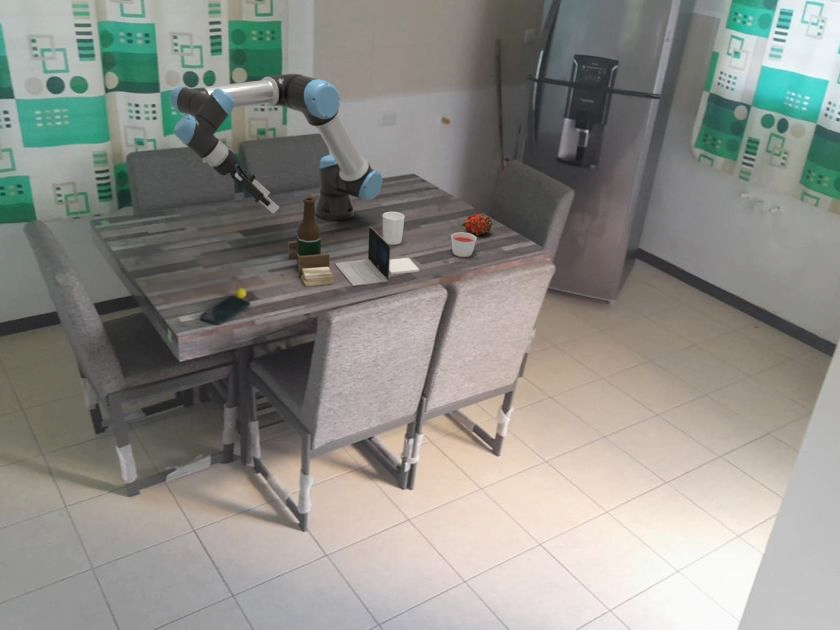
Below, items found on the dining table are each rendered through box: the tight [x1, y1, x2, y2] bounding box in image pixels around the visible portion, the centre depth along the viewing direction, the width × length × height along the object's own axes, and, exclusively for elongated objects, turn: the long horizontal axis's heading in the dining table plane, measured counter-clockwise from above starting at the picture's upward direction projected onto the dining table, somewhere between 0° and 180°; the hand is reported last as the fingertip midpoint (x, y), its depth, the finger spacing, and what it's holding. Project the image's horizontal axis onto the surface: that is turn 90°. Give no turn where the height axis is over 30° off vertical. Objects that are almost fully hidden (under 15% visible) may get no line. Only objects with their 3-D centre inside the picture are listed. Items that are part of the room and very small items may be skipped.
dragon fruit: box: [461, 213, 493, 237], centre depth 299 cm, size 8×8×12 cm
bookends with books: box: [287, 240, 335, 287], centre depth 260 cm, size 23×10×7 cm, turn 22°
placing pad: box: [389, 257, 420, 275], centre depth 268 cm, size 10×10×1 cm
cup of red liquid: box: [450, 231, 477, 258], centre depth 281 cm, size 9×9×6 cm
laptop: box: [334, 225, 391, 287], centre depth 260 cm, size 18×12×13 cm
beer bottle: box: [296, 197, 322, 264], centre depth 258 cm, size 8×8×24 cm
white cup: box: [382, 211, 405, 246], centre depth 286 cm, size 8×8×10 cm
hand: (271, 202), depth 248 cm, fingers open, 13 cm apart
